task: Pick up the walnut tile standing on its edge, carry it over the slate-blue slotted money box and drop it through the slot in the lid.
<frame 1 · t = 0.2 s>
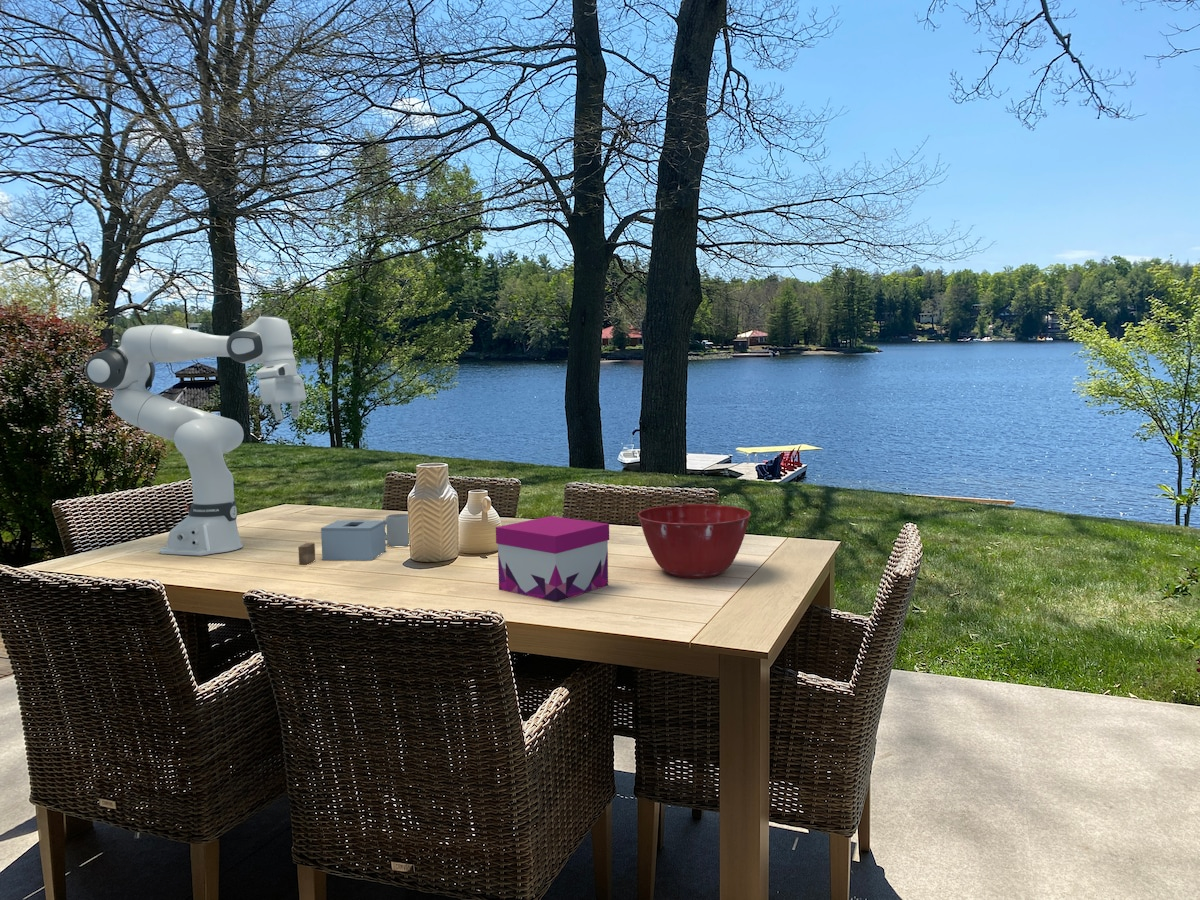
hand: (287, 418, 243), 39 cm above the table, tool pointing down, fingers open, 8 cm apart
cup: (395, 545, 252), on the table
decorative box: (553, 588, 200), on the table
mixing bowl: (693, 573, 213), on the table
money box: (354, 555, 238), on the table
tile: (307, 562, 230), on the table
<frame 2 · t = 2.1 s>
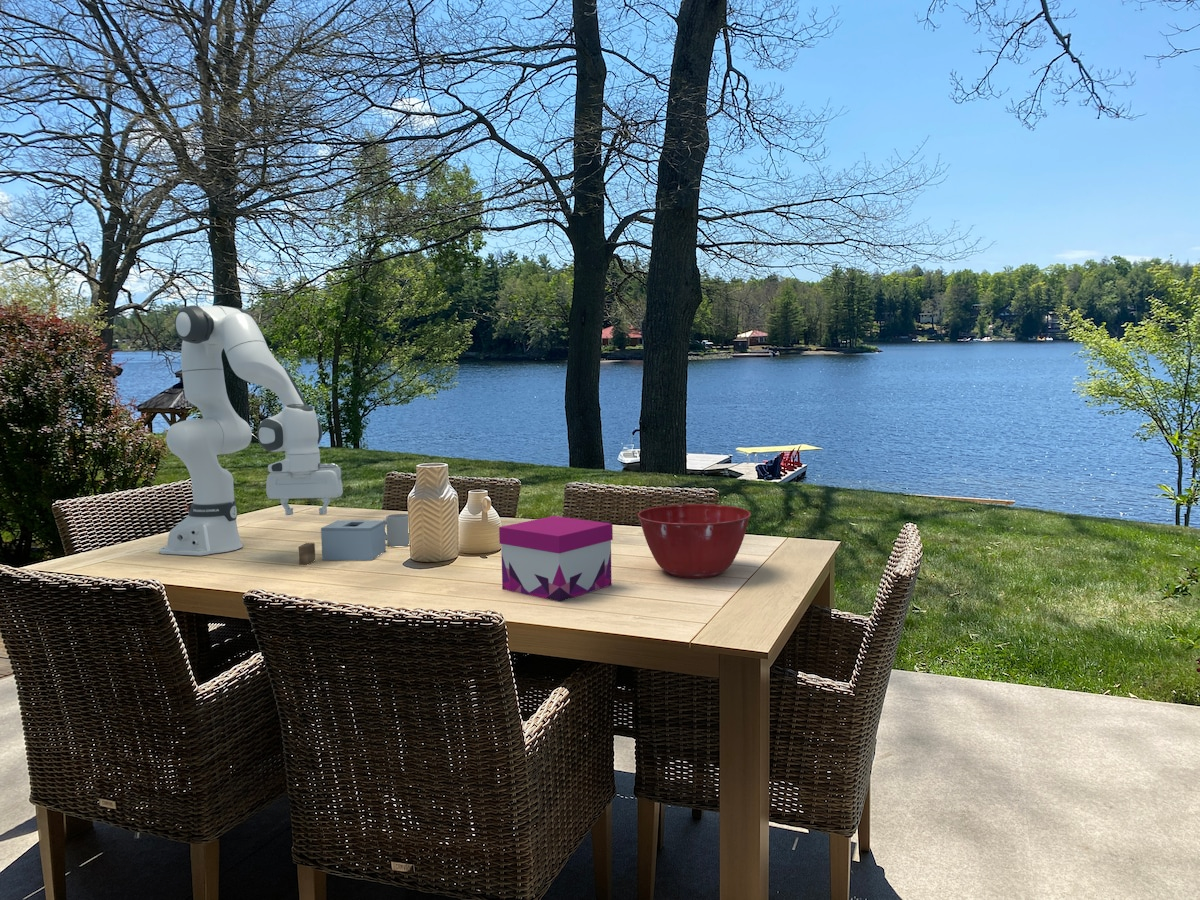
hand: (306, 514, 228), 13 cm above the table, tool pointing down, fingers open, 8 cm apart
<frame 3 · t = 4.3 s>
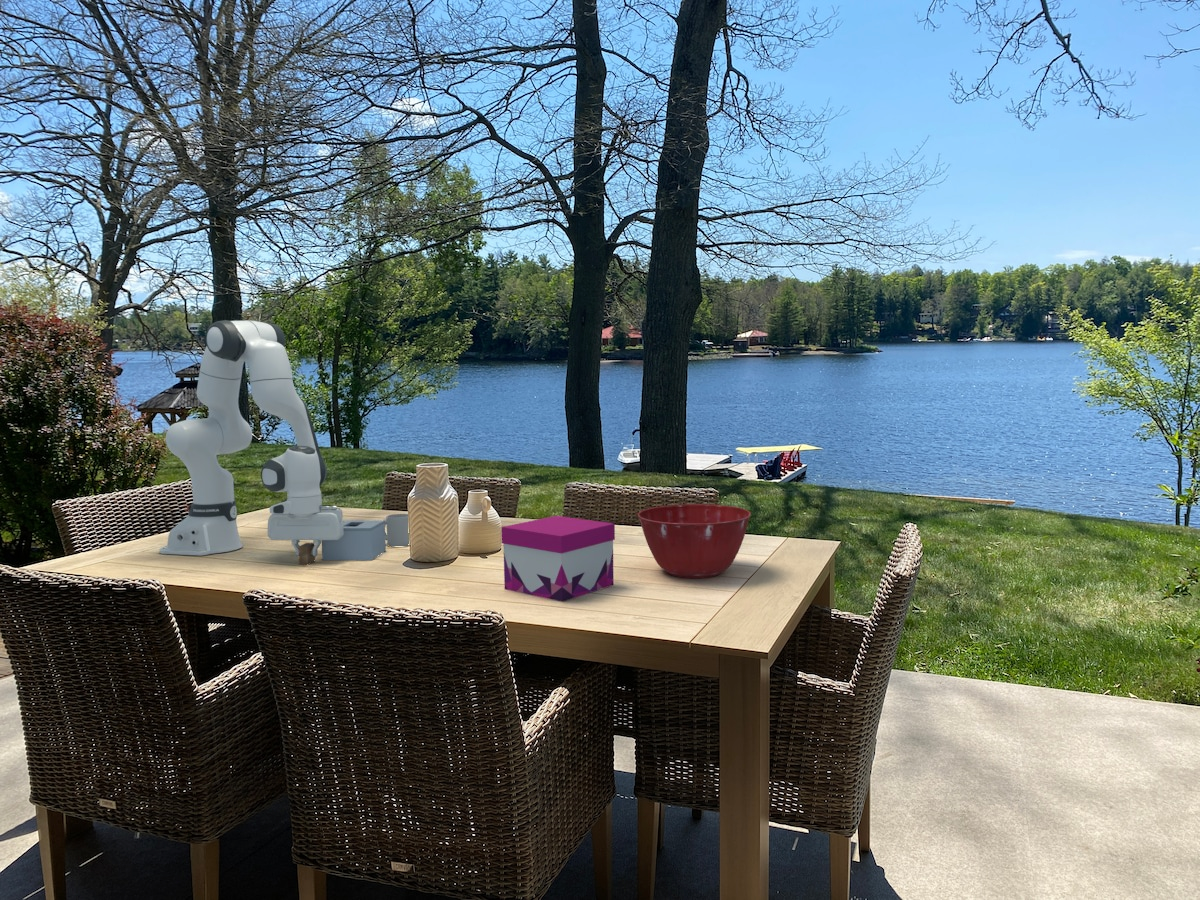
hand: (307, 555, 229), 2 cm above the table, tool pointing down, fingers closed on tile, 2 cm apart
tile: (307, 562, 230), on the table, touching gripper
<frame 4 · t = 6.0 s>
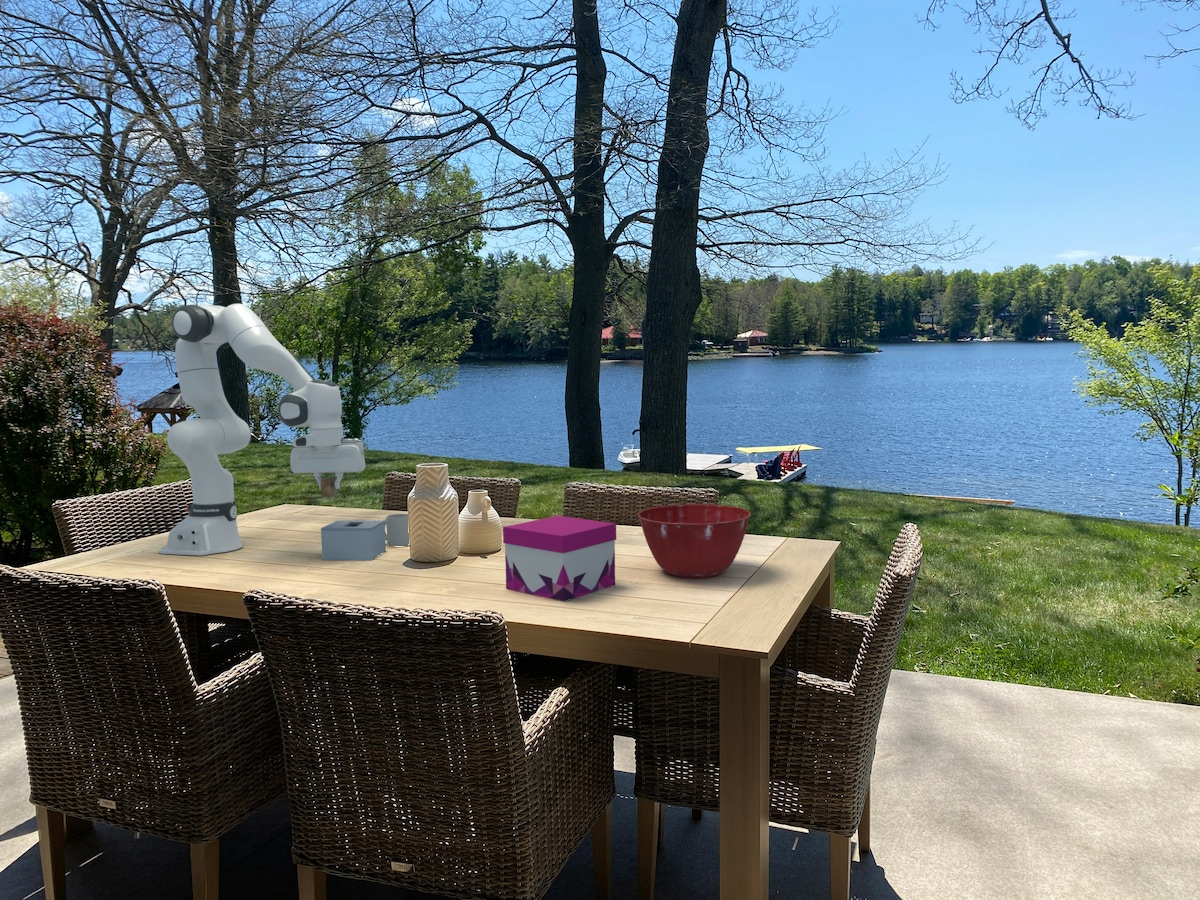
hand: (329, 488, 231), 20 cm above the table, tool pointing down, fingers closed on tile, 2 cm apart
tile: (329, 495, 232), point 18 cm above the table, touching gripper
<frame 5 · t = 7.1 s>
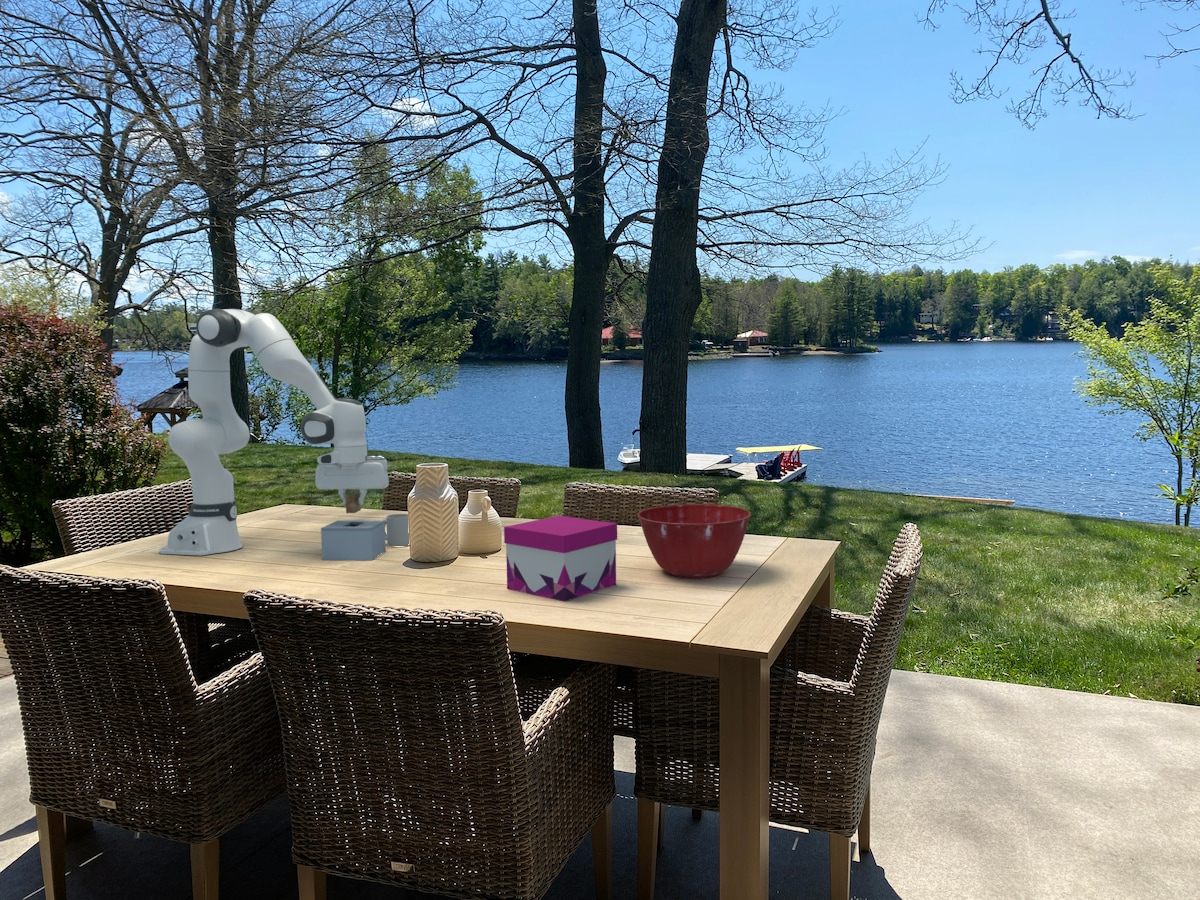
hand: (353, 504, 236), 15 cm above the table, tool pointing down, fingers closed on tile, 2 cm apart
tile: (353, 511, 236), point 13 cm above the table, touching gripper
when the fingers open (13 cm above the table, at t = 7.9 s): tile drops 10 cm, resting on money box.
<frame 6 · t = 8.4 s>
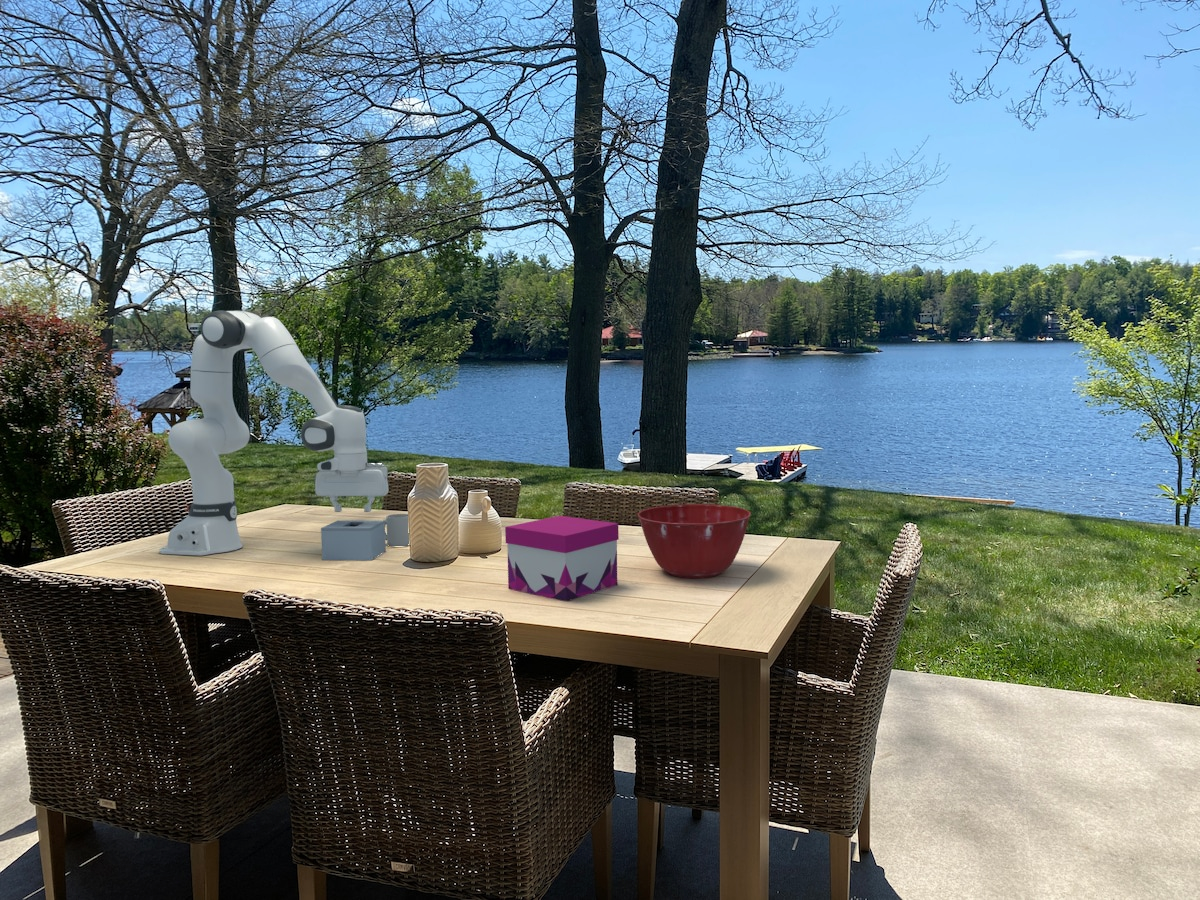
hand: (352, 511, 237), 13 cm above the table, tool pointing down, fingers open, 7 cm apart
tile: (354, 552, 238), point 1 cm above the table, touching money box
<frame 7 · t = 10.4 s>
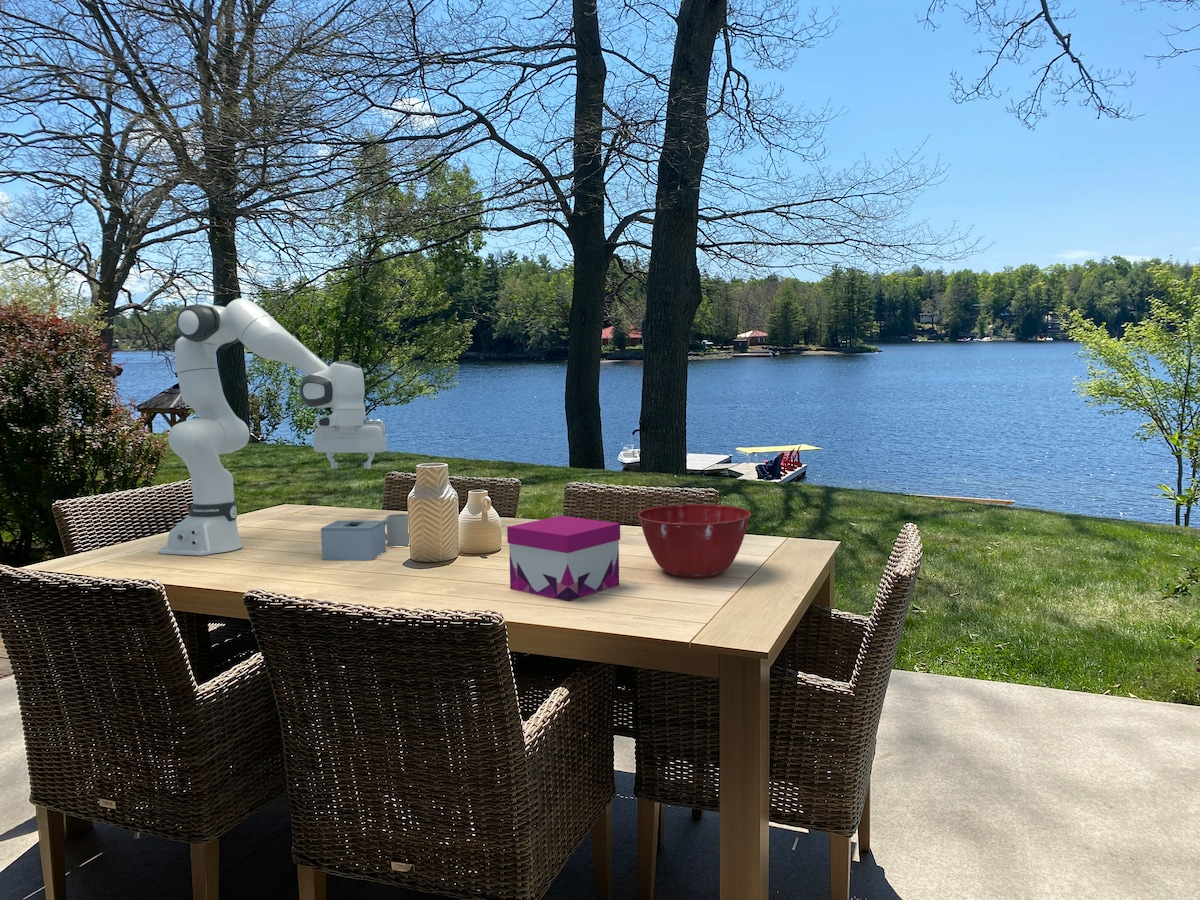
hand: (351, 468, 236), 25 cm above the table, tool pointing down, fingers open, 8 cm apart
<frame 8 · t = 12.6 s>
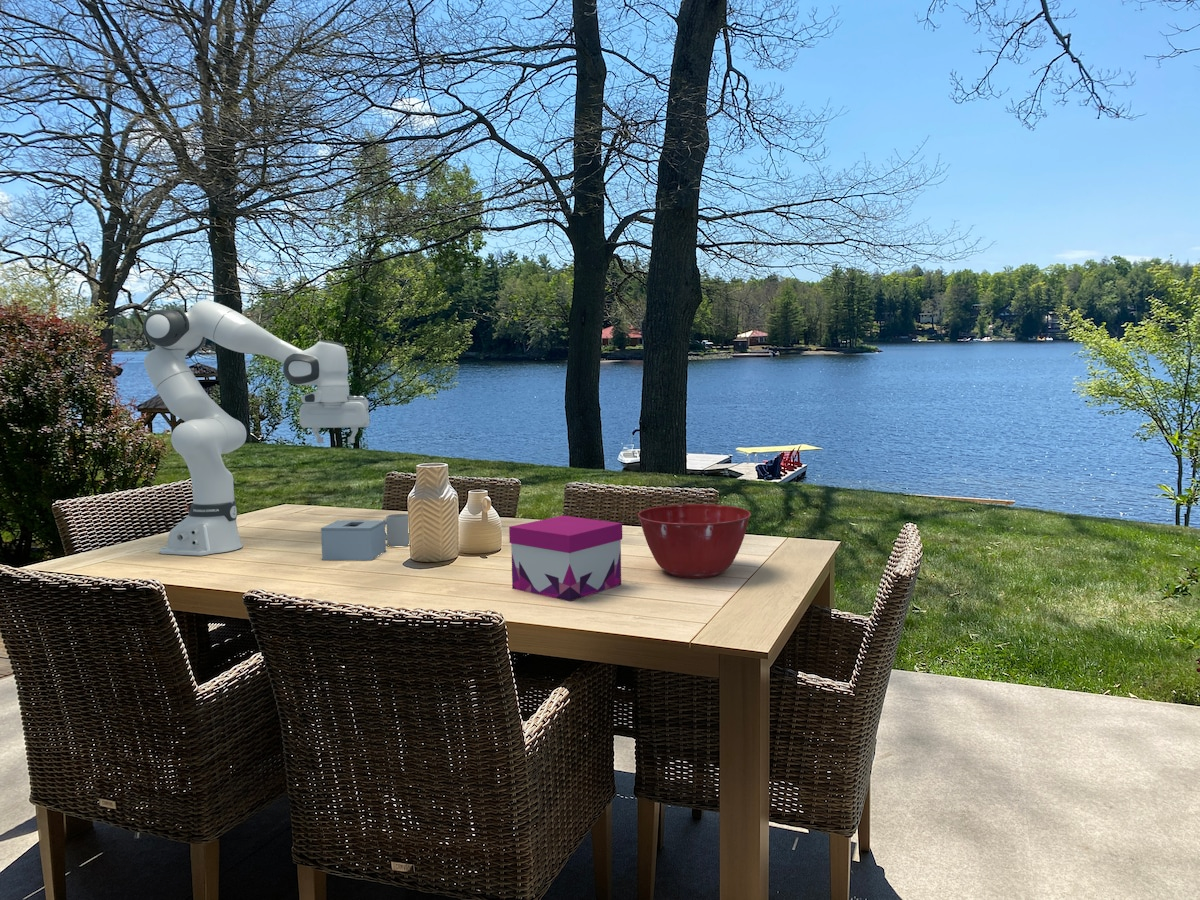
hand: (335, 443, 247), 31 cm above the table, tool pointing down, fingers open, 8 cm apart
at the end: tile inside the target area on the money box (0.1 cm from its centre), point 0.8 cm above the money box's base; the gripper is holding nothing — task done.
